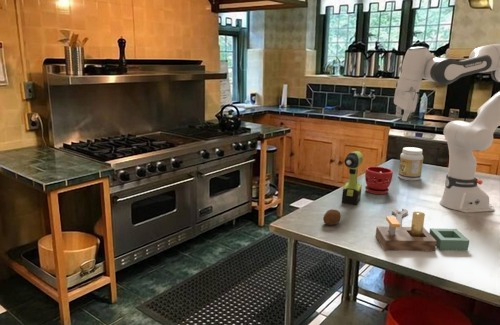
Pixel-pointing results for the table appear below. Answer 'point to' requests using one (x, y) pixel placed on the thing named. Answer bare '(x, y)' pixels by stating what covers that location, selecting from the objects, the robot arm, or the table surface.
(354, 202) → the cordless drill
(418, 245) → the socket block
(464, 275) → the table surface
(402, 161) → the supplement tub
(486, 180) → the table surface
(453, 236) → the green square frame
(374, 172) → the plant pot
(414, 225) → the gold rounded cylinder
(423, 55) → the robot arm
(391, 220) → the block
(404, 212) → the adjustable wrench
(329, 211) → the potato
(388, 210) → the table surface
